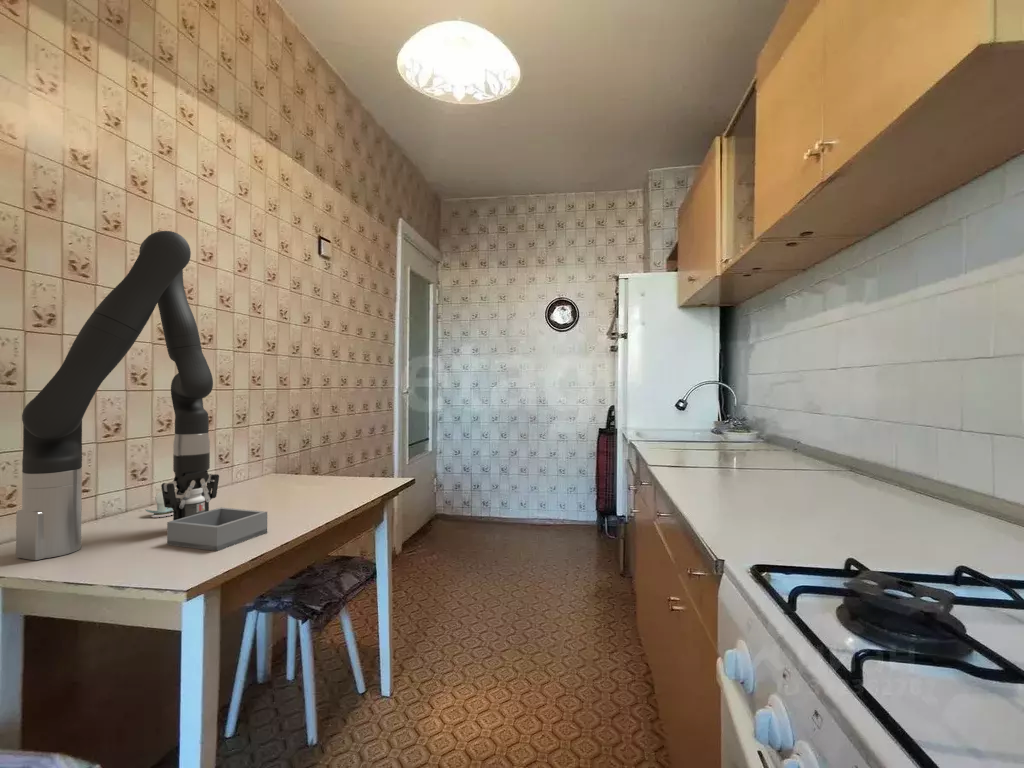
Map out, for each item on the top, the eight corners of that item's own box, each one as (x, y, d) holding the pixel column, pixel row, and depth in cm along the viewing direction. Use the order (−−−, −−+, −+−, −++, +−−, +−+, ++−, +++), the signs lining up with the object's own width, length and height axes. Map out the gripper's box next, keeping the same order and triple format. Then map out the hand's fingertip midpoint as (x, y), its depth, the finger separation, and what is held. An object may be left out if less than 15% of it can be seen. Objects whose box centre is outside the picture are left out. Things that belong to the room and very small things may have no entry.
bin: (217, 551, 106) (217, 527, 106) (167, 544, 110) (167, 522, 110) (267, 532, 119) (267, 511, 119) (221, 527, 123) (221, 507, 123)
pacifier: (183, 514, 137) (172, 511, 140) (184, 492, 137) (172, 488, 140) (153, 520, 131) (142, 517, 134) (154, 497, 131) (142, 493, 134)
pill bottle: (210, 526, 125) (210, 486, 125) (193, 532, 119) (194, 491, 119) (189, 525, 125) (189, 485, 125) (171, 532, 120) (171, 490, 120)
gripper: (205, 447, 130) (205, 512, 130) (151, 455, 117) (151, 527, 116) (228, 448, 128) (228, 514, 128) (176, 456, 114) (175, 530, 114)
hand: (191, 520), depth 122 cm, fingers closed on pill bottle, 5 cm apart
